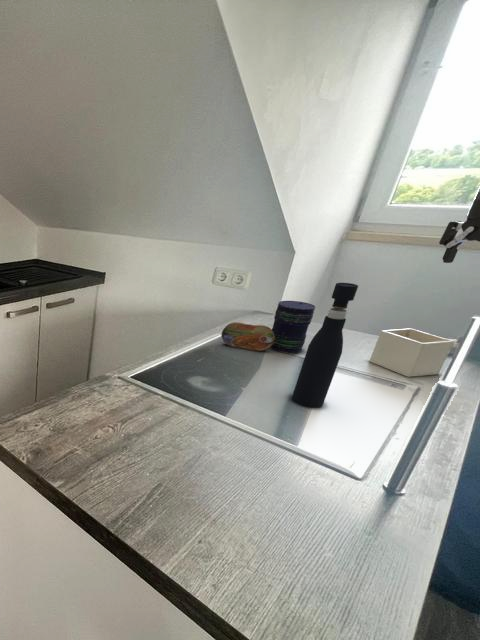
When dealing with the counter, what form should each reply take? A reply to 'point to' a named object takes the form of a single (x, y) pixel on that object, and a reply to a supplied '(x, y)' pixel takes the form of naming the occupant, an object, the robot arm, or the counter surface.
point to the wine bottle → (324, 351)
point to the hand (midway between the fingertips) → (466, 265)
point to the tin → (248, 336)
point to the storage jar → (291, 325)
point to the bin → (411, 352)
